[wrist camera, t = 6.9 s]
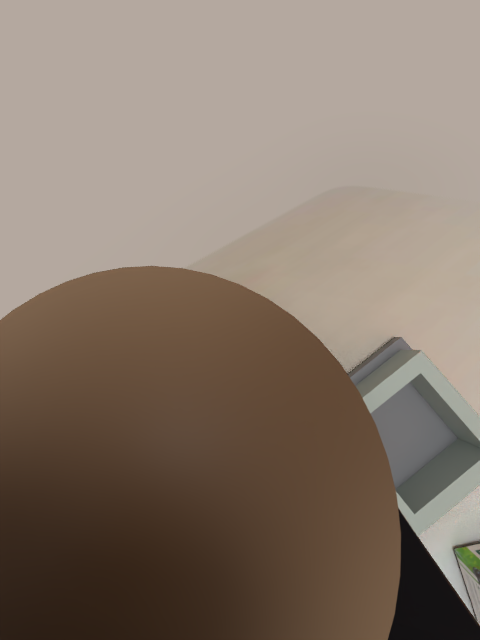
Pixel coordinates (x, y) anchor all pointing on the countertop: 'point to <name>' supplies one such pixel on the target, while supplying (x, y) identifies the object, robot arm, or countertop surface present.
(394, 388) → the dock
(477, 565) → the syrup box
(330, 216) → the countertop surface
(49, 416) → the walnut plug
